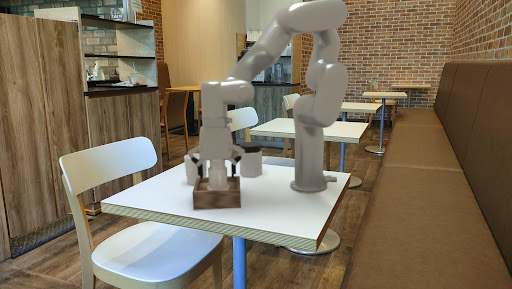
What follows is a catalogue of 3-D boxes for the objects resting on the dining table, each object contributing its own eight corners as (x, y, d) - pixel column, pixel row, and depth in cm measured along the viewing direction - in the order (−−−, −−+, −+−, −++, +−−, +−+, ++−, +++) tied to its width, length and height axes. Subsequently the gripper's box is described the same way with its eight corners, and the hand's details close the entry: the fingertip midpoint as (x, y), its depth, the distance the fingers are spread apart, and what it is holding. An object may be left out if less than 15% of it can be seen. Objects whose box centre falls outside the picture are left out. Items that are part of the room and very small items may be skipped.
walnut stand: (240, 191, 120) (239, 175, 119) (240, 208, 107) (240, 190, 105) (198, 193, 120) (197, 177, 118) (193, 209, 106) (192, 192, 105)
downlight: (205, 184, 115) (204, 155, 113) (227, 182, 117) (226, 153, 114) (208, 194, 108) (207, 162, 105) (231, 192, 109) (230, 160, 107)
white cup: (203, 186, 126) (202, 159, 123) (182, 185, 127) (180, 158, 125) (210, 179, 133) (209, 153, 131) (190, 178, 135) (189, 152, 132)
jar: (249, 179, 133) (249, 147, 130) (235, 174, 139) (234, 144, 136) (266, 173, 139) (266, 143, 137) (252, 169, 145) (251, 140, 142)
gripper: (243, 119, 112) (244, 172, 116) (187, 121, 111) (190, 174, 115) (244, 123, 104) (245, 180, 108) (184, 125, 104) (187, 182, 107)
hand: (217, 177), depth 111 cm, fingers open, 9 cm apart
